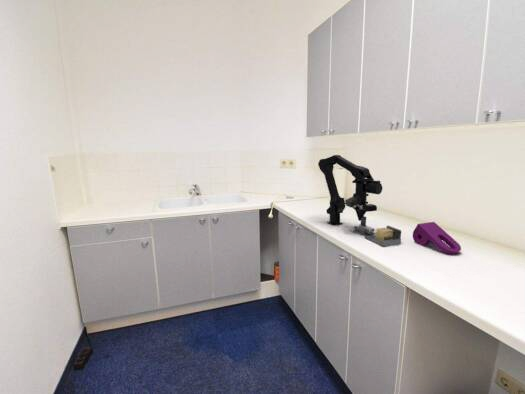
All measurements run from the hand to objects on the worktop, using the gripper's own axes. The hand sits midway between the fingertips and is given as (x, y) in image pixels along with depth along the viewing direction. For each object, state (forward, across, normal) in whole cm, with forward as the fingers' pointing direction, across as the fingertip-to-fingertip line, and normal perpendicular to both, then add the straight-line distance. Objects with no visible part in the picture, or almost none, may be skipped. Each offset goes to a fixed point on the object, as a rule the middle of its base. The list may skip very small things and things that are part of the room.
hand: (359, 220), depth 144 cm
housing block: (+5, +18, 0) cm, 19 cm away
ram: (+4, +7, 0) cm, 8 cm away
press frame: (+6, +11, +1) cm, 13 cm away
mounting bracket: (+6, +32, +17) cm, 37 cm away
